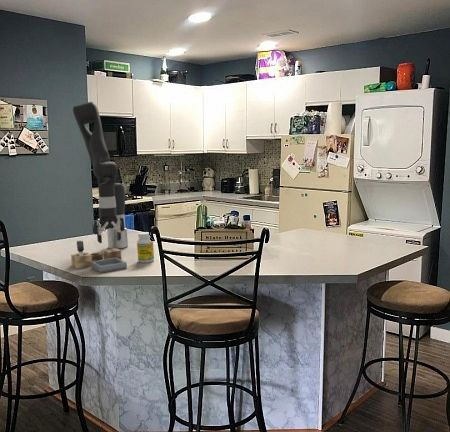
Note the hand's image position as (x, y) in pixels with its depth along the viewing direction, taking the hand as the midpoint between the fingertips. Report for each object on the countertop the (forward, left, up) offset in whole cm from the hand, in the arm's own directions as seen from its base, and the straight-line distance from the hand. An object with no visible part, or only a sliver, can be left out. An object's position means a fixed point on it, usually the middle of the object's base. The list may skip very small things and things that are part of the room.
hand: (109, 241), depth 228 cm
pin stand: (+5, -6, -9) cm, 12 cm away
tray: (+5, +11, -9) cm, 15 cm away
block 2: (-1, 0, -9) cm, 9 cm away
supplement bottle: (-13, +10, -9) cm, 19 cm away
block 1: (+13, -1, -9) cm, 16 cm away
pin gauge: (+13, -1, -9) cm, 16 cm away
